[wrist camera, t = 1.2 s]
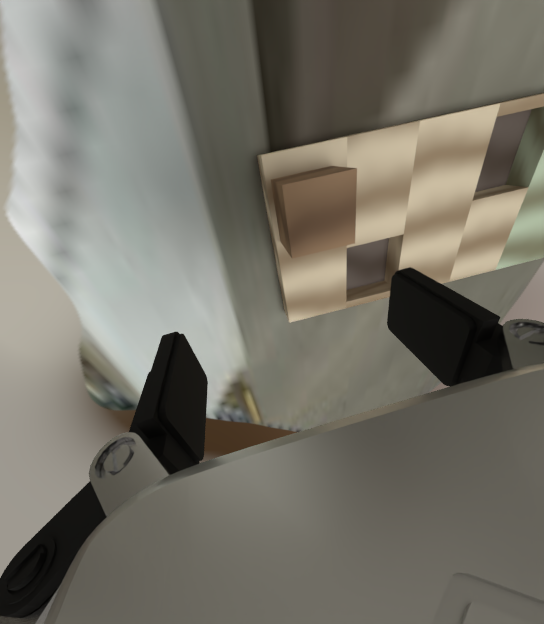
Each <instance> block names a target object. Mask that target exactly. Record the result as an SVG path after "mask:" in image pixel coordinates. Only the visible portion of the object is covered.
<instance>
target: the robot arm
mask: <svg viewBox="0 0 544 624" xmlns="http://www.w3.org/2000/svg"><path fill="white" fill-rule="evenodd" d="M499 319H500V317H499V316H498V315H496V314H494V313H492V312H490V311H489V310H487V309H485V308H483V307H482V306H480V305H478V304H476V303H474V302H473V301H471V300H469V299H467V298H465V297H464V296H462V295H460V294H458V293H457V292H455V291H453V290H451V289H449V288H448V287H446V286H444V285H442V284H440V283H439V282H437V281H435V280H433V279H432V278H430V277H428V276H426V275H424V274H423V273H421V272H419V271H417V270H415V269H414V268H411V267H409V268H405V269H402V270H398V271H396V272H395V275H393V276H392V279H391V289H390V299H389V310H388V320H387V325H388V328H389V330H390V331H391V332H392V333H393V334H394V335H395V336H396V337H397V338H398V339H399V340H400V341H401V342H402V343H403V344H404V345H405V346H406V347H407V348H408V349H409V350H410V351H411V352H412V353H413V354H414V355H415V356H416V357H417V358H418V359H419V360H420V361H421V362H422V363H423V364H424V365H425V366H426V367H427V368H428V369H429V370H430V371H431V372H432V373H433V374H434V375H435V376H436V377H437V378H438V379H439V380H440V381H441V382H442V383H443V384H444V385H446V386H450V387H447V388H444V389H441V390H437V391H434V392H431V393H427V394H424V395H420V396H417V397H414V398H410V399H407V400H403V401H400V402H397V403H393V404H390V405H387V406H383V407H380V408H377V409H373V410H370V411H367V412H363V413H360V414H357V415H354V416H350V417H347V418H344V419H340V420H337V421H334V422H330V423H327V424H324V425H320V426H317V427H314V428H311V429H307V430H304V431H301V432H298V433H295V434H291V435H288V436H285V437H282V438H278V439H275V440H272V441H269V442H265V443H262V444H259V445H255V446H252V447H249V448H246V449H243V450H239V451H236V452H234V453H230V454H227V455H224V456H221V457H218V458H215V459H212V460H209V461H206V462H203V463H200V464H199V461H201V460H202V459H203V457H204V442H205V423H206V404H207V384H208V382H207V377H206V374H205V372H204V371H203V369H202V367H201V365H200V363H199V361H198V360H197V358H196V356H195V354H194V352H193V350H192V348H191V347H190V345H189V343H188V341H187V339H186V337H185V336H184V334H179V333H178V332H173V333H170V334H166V335H163V336H162V338H161V341H160V344H159V348H158V351H157V354H156V357H155V360H154V363H153V366H152V369H151V371H150V372H149V374H148V376H147V379H146V382H145V385H144V388H143V391H142V394H141V397H140V400H139V403H138V406H137V409H136V412H135V415H134V418H133V422H132V424H131V427H130V431H129V432H128V433H123V434H120V435H118V436H116V437H114V438H113V439H112V440H110V441H109V442H108V443H107V444H106V445H104V446H103V447H102V448H101V449H100V451H99V452H98V453H97V455H96V456H95V458H94V460H93V462H92V464H91V466H90V471H89V477H90V482H89V483H88V484H87V485H86V486H85V487H84V488H83V489H82V490H81V491H80V492H79V493H78V494H76V495H75V496H74V497H73V498H72V499H71V500H70V501H69V502H68V503H67V504H66V505H65V506H64V507H63V508H62V509H61V510H60V511H59V512H58V513H57V514H56V515H55V516H54V517H53V518H52V519H51V520H50V521H49V522H48V523H47V524H46V525H45V526H44V527H43V528H42V529H41V530H40V531H39V532H38V533H37V534H36V535H35V536H34V537H33V538H32V539H31V540H30V541H29V542H28V543H27V544H26V545H25V546H24V547H23V548H22V549H21V550H20V551H19V552H18V553H17V554H16V556H15V557H14V558H13V559H12V561H11V562H10V563H9V565H8V566H7V568H6V569H5V570H4V573H3V574H2V576H1V578H0V624H544V323H542V322H539V321H535V320H529V319H516V320H510V321H507V322H506V323H505V324H504V325H503V326H502V325H500V324H498V321H499Z"/></svg>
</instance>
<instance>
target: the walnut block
mask: <svg viewBox="0 0 544 624" xmlns="http://www.w3.org/2000/svg"><path fill="white" fill-rule="evenodd" d="M271 185H272V191H273V198H274V204H275V210H276V217H277V223H278V229H279V236H280V242H281V243H282V245H283V246H284V248H285V249H286V251H287V252H288V254H289V255H290V256H291V258H292V259H293V258H297V257H301V256H305V255H309V254H313V253H318V252H322V251H326V250H330V249H334V248H338V247H342V246H346V245H351V244H355V228H356V191H357V168H349V167H339V166H329V167H325V168H320V169H316V170H311V171H307V172H302V173H298V174H293V175H289V176H285V177H280V178H276V179H271Z"/></svg>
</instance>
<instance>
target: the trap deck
mask: <svg viewBox="0 0 544 624" xmlns="http://www.w3.org/2000/svg"><path fill="white" fill-rule="evenodd" d="M257 159H258V165H259V170H260V176H261V181H262V187H263V193H264V198H265V204H266V210H267V215H268V221H269V226H270V232H271V238H272V243H273V249H274V254H275V260H276V266H277V271H278V277H279V283H280V288H281V294H282V299H283V305H284V311H285V313H286V315H287V318H288V320H289V323H290V322H294V321H297V320H301V319H305V318H309V317H313V316H317V315H321V314H325V313H329V312H333V311H337V310H340V309H344V308H348V307H352V306H356V305H360V304H364V303H368V302H372V301H376V300H379V299H383V298H387V297H390V289H391V279H392V276H393V275H395V272H396V271H398V270H402V269H405V268H409V267H411V268H414V269H415V270H417V271H419V272H421V273H423V274H424V275H426V276H428V277H430V278H432V279H433V280H435V281H437V282H439V283H440V284H442V283H446V282H450V281H454V280H458V279H461V278H465V277H469V276H473V275H477V274H481V273H485V272H489V271H493V270H497V269H500V268H504V267H508V266H512V265H516V264H520V263H524V262H528V261H532V260H536V259H539V258H543V257H544V93H541V94H536V95H532V96H527V97H522V98H518V99H513V100H509V101H504V102H499V103H495V104H490V105H486V106H481V107H477V108H472V109H467V110H463V111H458V112H454V113H449V114H444V115H440V116H435V117H431V118H426V119H422V120H417V121H412V122H408V123H403V124H399V125H394V126H389V127H385V128H380V129H376V130H371V131H366V132H362V133H357V134H353V135H348V136H344V137H339V138H334V139H330V140H325V141H321V142H316V143H311V144H307V145H302V146H298V147H293V148H289V149H284V150H279V151H275V152H270V153H266V154H261V155H257ZM329 166H339V167H349V168H357V191H356V228H355V244H351V245H346V246H342V247H338V248H334V249H330V250H326V251H322V252H318V253H313V254H309V255H305V256H301V257H297V258H293V259H292V258H291V256H290V255H289V254H288V252H287V251H286V249H285V248H284V246H283V245H282V243H281V242H280V236H279V229H278V223H277V217H276V210H275V204H274V198H273V191H272V185H271V179H276V178H280V177H285V176H289V175H293V174H298V173H302V172H307V171H311V170H316V169H320V168H325V167H329Z"/></svg>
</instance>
